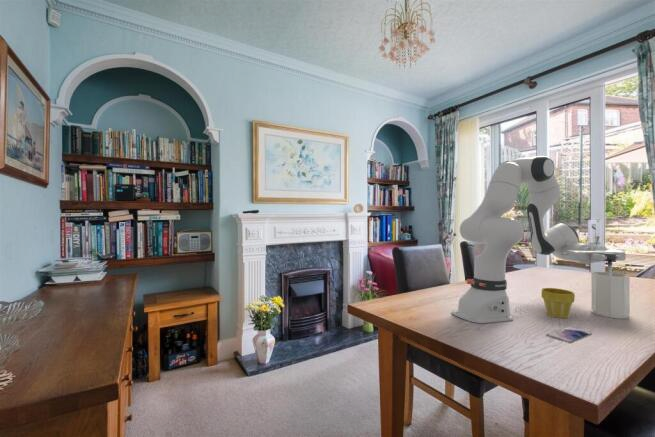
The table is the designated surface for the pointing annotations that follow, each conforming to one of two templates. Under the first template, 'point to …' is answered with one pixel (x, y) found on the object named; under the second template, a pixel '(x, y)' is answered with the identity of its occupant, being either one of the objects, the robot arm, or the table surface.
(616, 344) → the table surface
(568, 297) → the plant pot
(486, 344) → the table surface
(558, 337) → the smartphone
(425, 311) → the table surface
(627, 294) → the press carafe
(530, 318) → the table surface
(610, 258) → the plunger
